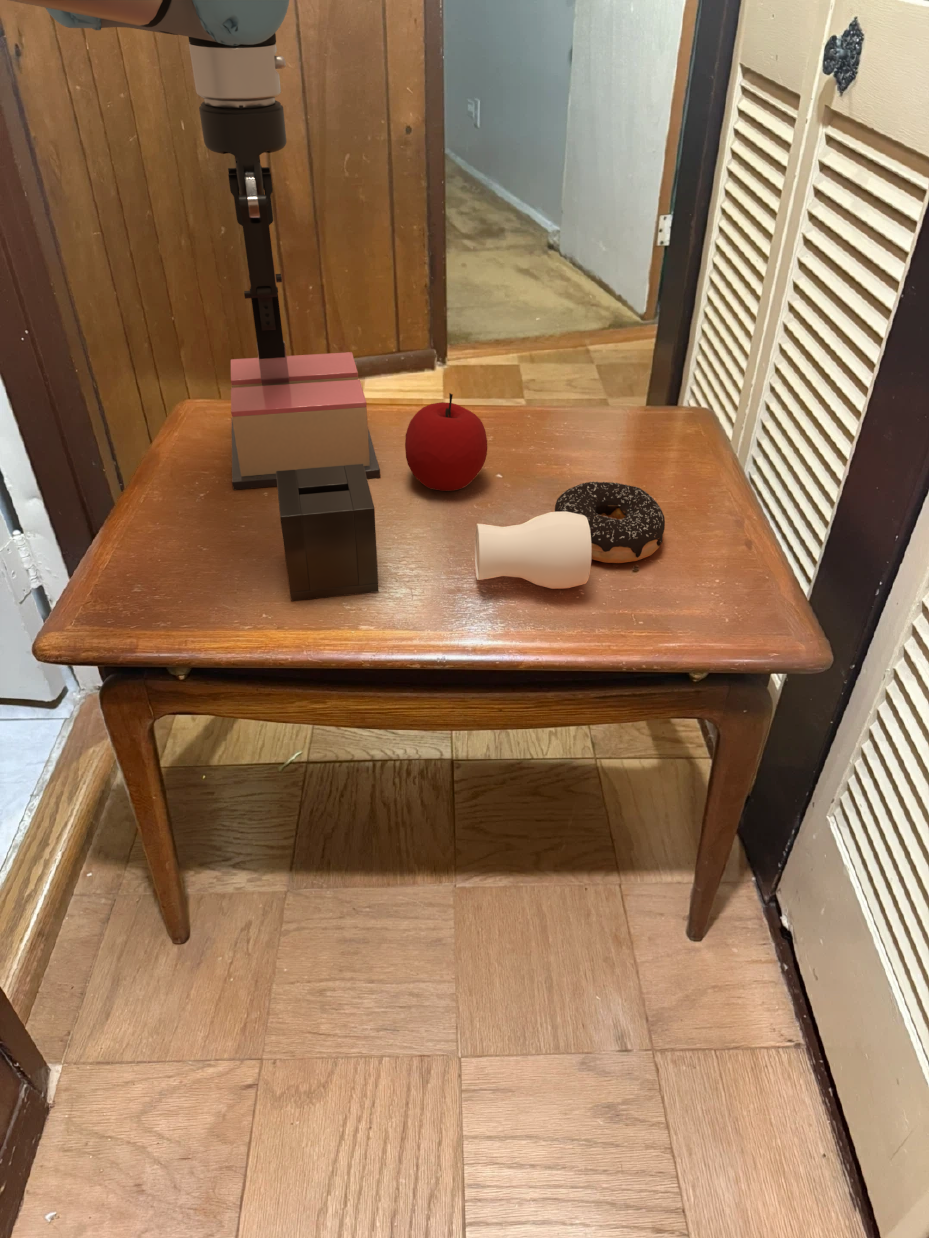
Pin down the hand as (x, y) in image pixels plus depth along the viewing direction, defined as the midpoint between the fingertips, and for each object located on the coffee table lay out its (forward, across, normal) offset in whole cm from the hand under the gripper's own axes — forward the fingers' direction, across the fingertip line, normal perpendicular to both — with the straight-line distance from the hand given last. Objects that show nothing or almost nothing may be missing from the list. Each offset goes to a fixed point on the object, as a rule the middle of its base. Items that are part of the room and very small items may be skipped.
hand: (271, 351), depth 93 cm
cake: (+12, 0, -2) cm, 12 cm away
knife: (+9, 0, 0) cm, 9 cm away
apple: (+12, -10, -17) cm, 23 cm away
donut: (+12, -24, -31) cm, 41 cm away
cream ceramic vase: (+12, -30, -21) cm, 39 cm away
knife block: (+12, -25, -3) cm, 28 cm away
